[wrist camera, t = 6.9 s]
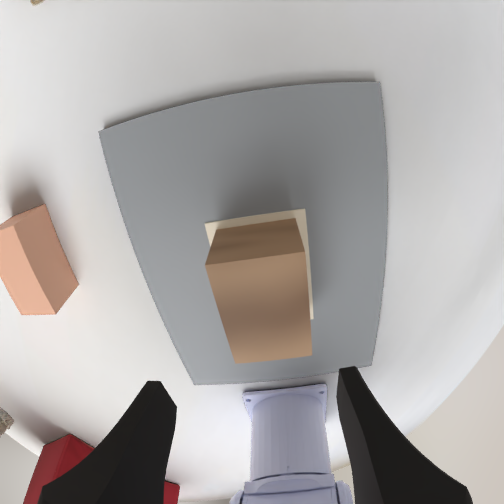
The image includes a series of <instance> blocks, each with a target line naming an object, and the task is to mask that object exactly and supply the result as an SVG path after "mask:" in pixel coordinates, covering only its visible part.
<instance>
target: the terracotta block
mask: <svg viewBox="0 0 504 504" xmlns="http://www.w3.org/2000/svg"><path fill="white" fill-rule="evenodd" d="M0 277H1V279H2V281H3V283H4V285H5V287H6V288H7V290H8V292H9V294H10V296H11V298H12V300H13V301H14V303H15V305H16V307H17V308H18V310H19V312H20V313H21V315H50V314H57V312H58V311H59V310H60V308H61V307H62V306H63V304H64V303H65V302H66V300H67V299H68V298H69V297H70V295H71V294H72V293H73V291H74V290H75V289H76V288H77V286H78V285H79V284H78V282H77V280H76V278H75V276H74V273H73V271H72V269H71V267H70V265H69V262H68V260H67V258H66V256H65V253H64V251H63V249H62V246H61V244H60V241H59V239H58V237H57V234H56V231H55V229H54V226H53V224H52V221H51V218H50V216H49V213H48V210H47V207H46V204H44V205H41V206H38V207H36V208H33V209H30V210H28V211H25V212H23V213H20V214H18V215H15V216H13V217H11V218H10V219H8V220H7V221H5V222H4V223H2V224H1V225H0Z"/></svg>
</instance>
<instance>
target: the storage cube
mask: <svg viewBox="0 0 504 504" xmlns="http://www.w3.org/2000/svg"><path fill="white" fill-rule="evenodd" d="M94 449H95V448H93V447H92V446H90V445H88V444H86V443H85V442H83V441H82V440H80V439H78V438H77V437H75V436H73V435H72V434H69V435H67V436H64V437H63V438H60V439H58V440H56V441H54V442H52V443H49V444H47V445H44V447H43V449H42V452H41V454H40V457H39V460H38V463H37V465H36V468H35V470H34V473H33V476H32V479H31V481H30V484H29V487H28V490H27V493H26V496H25V499H24V502H23V504H37V502H38V499H39V496H40V493H41V489H42V487H43V486H44V485H46V484H48V483H49V482H51V481H53V480H55V479H57V478H58V477H60V476H62V475H63V474H65V473H66V472H67V471H69V470H70V469H72V468H73V467H74V466H76V465H77V464H78V463H79V462H81V461H82V460H83V459H84V458H85V457H86V456H87V455H89V454H90V453H91V452H92V451H93V450H94ZM179 489H180V486H179V485H177V484H172V483H169V482H166V481H165V484H164V504H177V503H178V496H179Z"/></svg>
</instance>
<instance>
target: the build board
mask: <svg viewBox="0 0 504 504" xmlns="http://www.w3.org/2000/svg"><path fill="white" fill-rule="evenodd" d="M98 132H99V136H100V140H101V144H102V148H103V152H104V156H105V160H106V164H107V167H108V171H109V175H110V178H111V182H112V185H113V188H114V192H115V195H116V198H117V201H118V205H119V208H120V211H121V214H122V217H123V220H124V223H125V226H126V229H127V232H128V235H129V238H130V240H131V243H132V246H133V249H134V251H135V254H136V257H137V260H138V262H139V265H140V267H141V270H142V273H143V275H144V278H145V280H146V283H147V285H148V287H149V290H150V292H151V295H152V297H153V300H154V302H155V304H156V307H157V309H158V311H159V313H160V316H161V318H162V320H163V322H164V325H165V327H166V329H167V331H168V333H169V335H170V338H171V340H172V342H173V344H174V346H175V348H176V350H177V352H178V354H179V356H180V358H181V360H182V362H183V364H184V366H185V368H186V370H187V372H188V374H189V376H190V378H191V380H192V382H193V384H194V385H216V384H237V383H252V382H264V381H275V380H284V379H293V378H301V377H308V376H315V375H322V374H329V373H335V372H339V369H340V368H345V367H351V366H355V367H357V368H362V367H367V366H371V365H372V360H373V354H374V349H375V343H376V337H377V330H378V324H379V317H380V309H381V301H382V292H383V282H384V271H385V258H386V242H387V214H388V178H387V151H386V135H385V122H384V112H383V103H382V94H381V86H380V82H331V83H314V84H302V85H291V86H282V87H274V88H266V89H259V90H253V91H246V92H240V93H235V94H229V95H224V96H219V97H214V98H209V99H205V100H200V101H196V102H192V103H188V104H184V105H180V106H176V107H172V108H168V109H165V110H161V111H158V112H154V113H151V114H148V115H144V116H141V117H138V118H135V119H132V120H129V121H126V122H123V123H120V124H117V125H114V126H112V127H109V128H106V129H104V130H101V131H98ZM292 218H296V222H297V225H298V228H299V232H300V235H301V239H302V242H303V246H304V249H305V255H306V266H307V278H308V291H309V305H310V321H311V339H312V356H305V357H297V358H289V359H281V360H272V361H262V362H251V363H239V364H235V361H234V358H233V355H232V352H231V349H230V346H229V343H228V340H227V337H226V334H225V330H224V327H223V324H222V321H221V318H220V315H219V311H218V308H217V305H216V302H215V298H214V295H213V292H212V288H211V285H210V281H209V278H208V275H207V271H206V268H205V263H206V260H207V257H208V253H209V250H210V247H211V244H212V241H213V238H214V235H215V232H216V230H217V229H224V228H230V227H237V226H243V225H250V224H257V223H264V222H271V221H278V220H285V219H292Z"/></svg>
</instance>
